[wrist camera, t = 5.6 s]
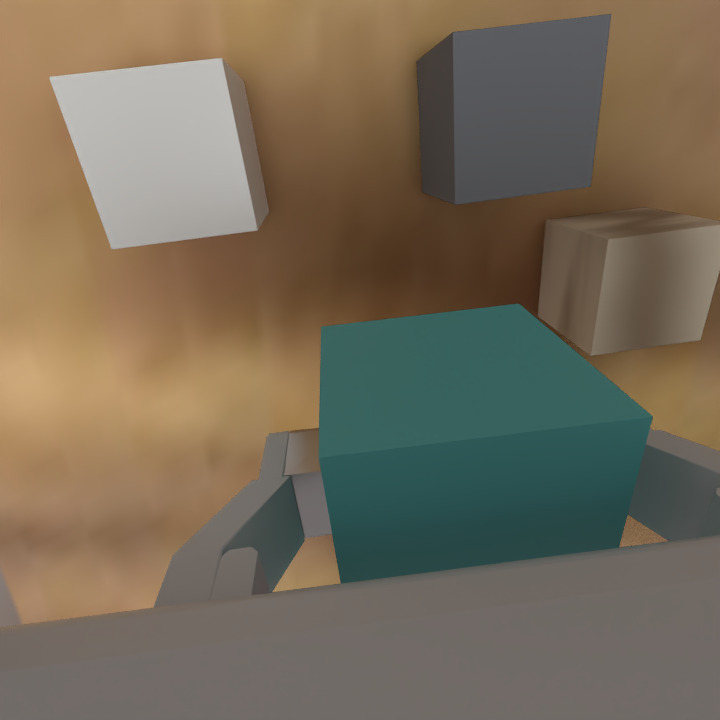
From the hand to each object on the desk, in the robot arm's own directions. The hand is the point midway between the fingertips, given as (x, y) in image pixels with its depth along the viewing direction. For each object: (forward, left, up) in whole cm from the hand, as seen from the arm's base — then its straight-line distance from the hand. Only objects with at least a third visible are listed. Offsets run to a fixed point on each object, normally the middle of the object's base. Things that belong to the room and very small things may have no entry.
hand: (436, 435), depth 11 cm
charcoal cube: (-5, -7, -12) cm, 15 cm away
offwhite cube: (+7, -7, -12) cm, 16 cm away
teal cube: (0, 0, -2) cm, 2 cm away
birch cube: (-11, 0, -12) cm, 17 cm away
